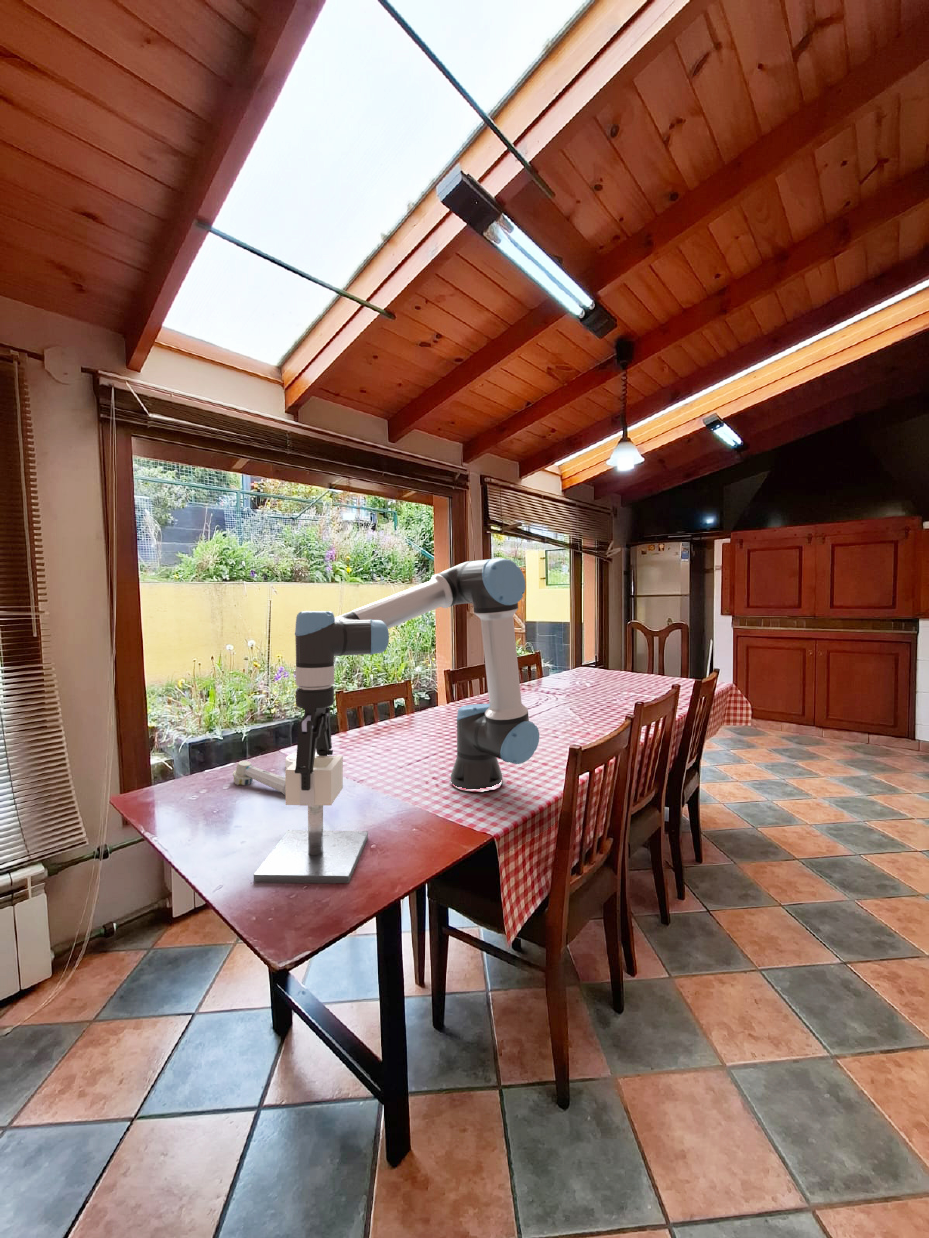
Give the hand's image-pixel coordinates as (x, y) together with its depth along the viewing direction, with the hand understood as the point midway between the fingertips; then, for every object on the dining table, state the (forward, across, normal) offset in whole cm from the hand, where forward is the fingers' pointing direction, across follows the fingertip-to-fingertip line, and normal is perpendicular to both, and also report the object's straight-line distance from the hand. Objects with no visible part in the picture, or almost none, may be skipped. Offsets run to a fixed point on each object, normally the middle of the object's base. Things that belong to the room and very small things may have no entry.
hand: (315, 794), depth 103 cm
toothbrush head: (+14, -37, -25) cm, 47 cm away
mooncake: (+14, -57, -21) cm, 62 cm away
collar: (0, 0, 0) cm, 0 cm away
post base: (+13, 0, 0) cm, 13 cm away
